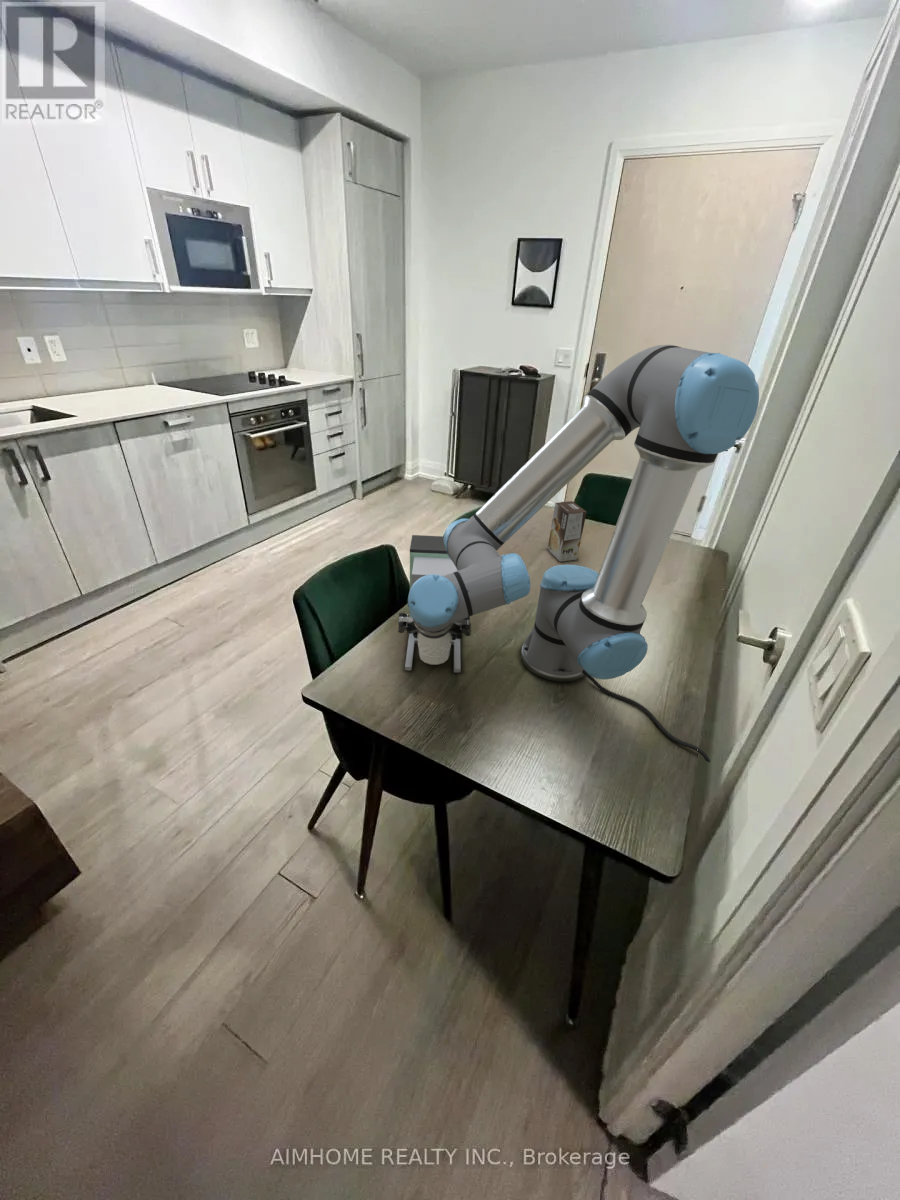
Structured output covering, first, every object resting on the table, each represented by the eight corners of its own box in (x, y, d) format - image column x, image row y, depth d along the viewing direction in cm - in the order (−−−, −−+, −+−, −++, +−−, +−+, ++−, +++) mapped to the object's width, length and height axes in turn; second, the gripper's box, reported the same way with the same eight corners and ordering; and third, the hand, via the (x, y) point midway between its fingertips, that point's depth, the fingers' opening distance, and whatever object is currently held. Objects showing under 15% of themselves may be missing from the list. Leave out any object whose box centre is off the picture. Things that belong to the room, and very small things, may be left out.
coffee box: (577, 560, 152) (588, 512, 143) (559, 562, 150) (569, 513, 141) (563, 547, 159) (572, 500, 150) (546, 548, 157) (554, 502, 149)
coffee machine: (460, 672, 105) (466, 583, 93) (404, 670, 105) (404, 580, 93) (459, 619, 122) (465, 537, 110) (411, 617, 122) (412, 534, 110)
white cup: (447, 669, 104) (449, 632, 98) (412, 663, 105) (411, 626, 100) (455, 647, 110) (457, 611, 105) (421, 641, 112) (421, 605, 106)
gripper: (491, 597, 87) (481, 618, 109) (377, 592, 87) (390, 614, 109) (490, 639, 86) (480, 652, 108) (374, 633, 85) (388, 647, 108)
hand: (435, 633), depth 109 cm, fingers closed on white cup, 8 cm apart
